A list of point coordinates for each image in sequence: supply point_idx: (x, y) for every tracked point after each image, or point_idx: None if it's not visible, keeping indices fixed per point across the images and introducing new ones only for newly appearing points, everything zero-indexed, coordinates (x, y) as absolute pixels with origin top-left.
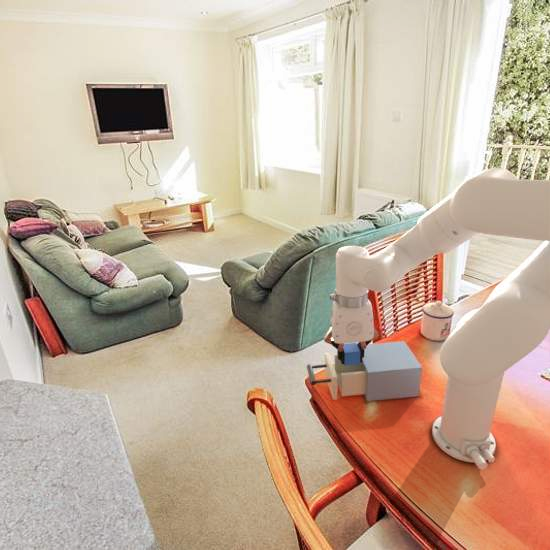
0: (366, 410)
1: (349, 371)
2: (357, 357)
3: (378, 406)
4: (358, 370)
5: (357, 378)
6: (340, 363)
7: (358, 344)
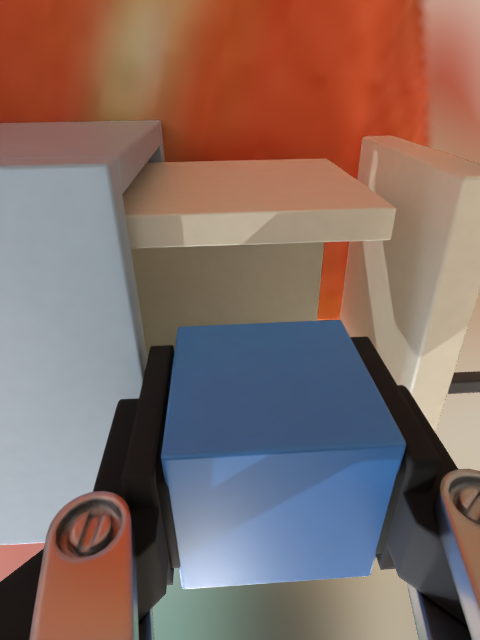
0: (180, 21)
1: None
2: (207, 383)
3: (86, 54)
4: None
5: (226, 194)
6: None
7: (165, 572)
